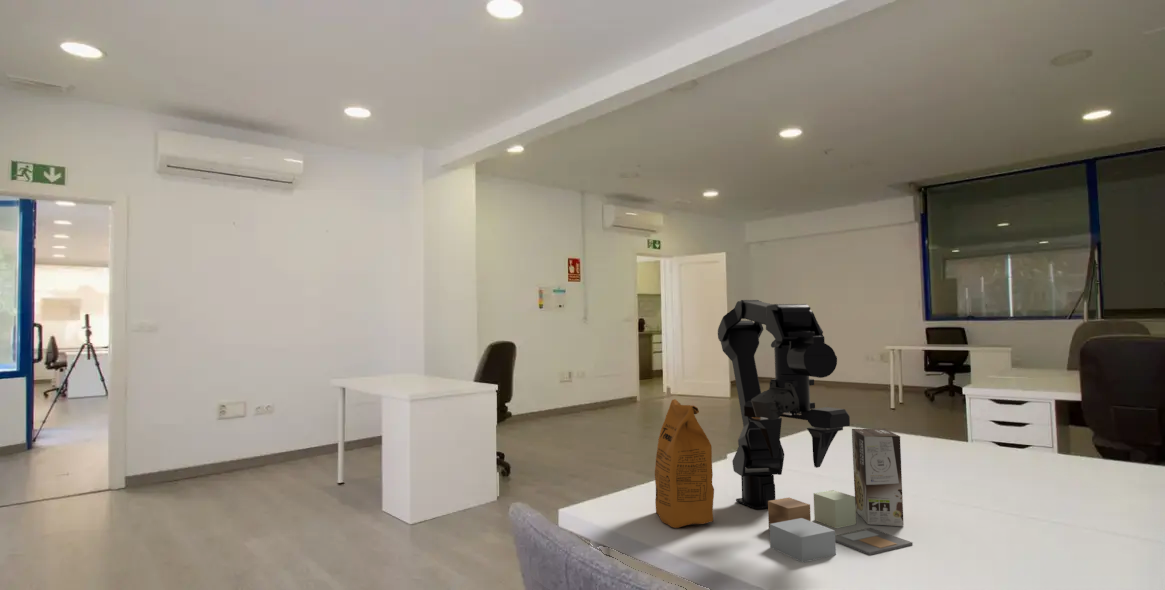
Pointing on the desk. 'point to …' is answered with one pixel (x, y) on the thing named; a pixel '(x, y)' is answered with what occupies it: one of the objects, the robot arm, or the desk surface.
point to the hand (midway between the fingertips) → (795, 462)
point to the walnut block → (787, 510)
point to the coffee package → (683, 469)
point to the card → (871, 541)
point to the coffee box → (877, 476)
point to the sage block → (834, 508)
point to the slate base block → (802, 539)
